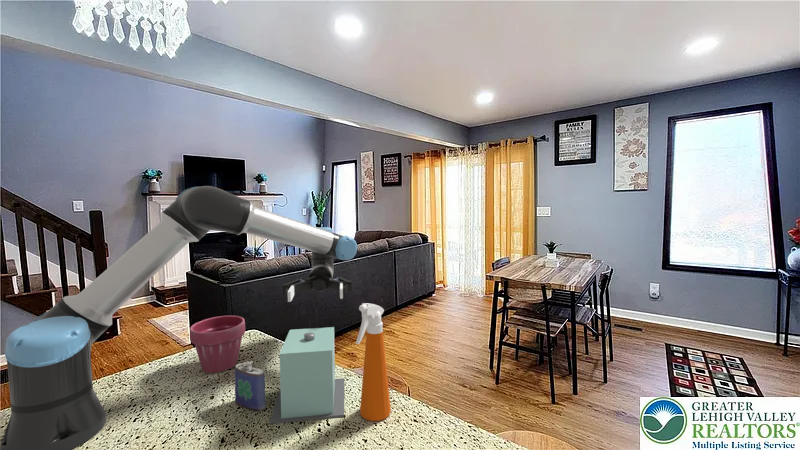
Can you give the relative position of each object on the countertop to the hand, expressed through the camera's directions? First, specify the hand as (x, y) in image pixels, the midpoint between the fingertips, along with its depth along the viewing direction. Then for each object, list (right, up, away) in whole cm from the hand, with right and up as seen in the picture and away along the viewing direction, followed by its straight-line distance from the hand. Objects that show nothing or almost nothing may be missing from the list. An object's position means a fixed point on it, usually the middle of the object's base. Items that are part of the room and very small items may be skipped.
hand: (315, 295), depth 91 cm
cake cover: (+1, -23, -9) cm, 25 cm away
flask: (-13, -24, -11) cm, 29 cm away
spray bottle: (+16, -24, -15) cm, 33 cm away
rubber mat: (+1, -24, -9) cm, 25 cm away
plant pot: (-30, -23, +9) cm, 39 cm away
